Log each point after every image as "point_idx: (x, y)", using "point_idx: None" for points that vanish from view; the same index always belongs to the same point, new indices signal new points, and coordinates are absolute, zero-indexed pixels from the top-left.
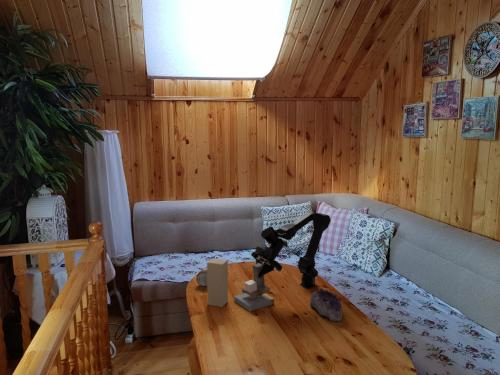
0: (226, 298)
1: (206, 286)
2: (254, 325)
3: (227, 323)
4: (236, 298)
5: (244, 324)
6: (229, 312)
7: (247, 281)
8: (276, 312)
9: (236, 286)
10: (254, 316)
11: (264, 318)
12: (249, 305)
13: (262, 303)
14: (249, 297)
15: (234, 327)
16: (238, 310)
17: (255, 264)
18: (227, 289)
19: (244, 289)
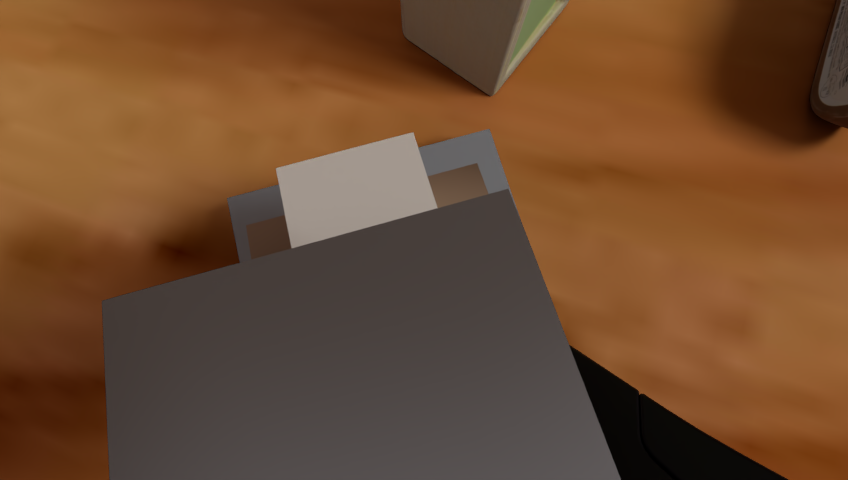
0: (474, 58)
1: (834, 8)
2: (13, 174)
3: (140, 8)
4: (451, 142)
5: (66, 110)
6: (297, 62)
7: (419, 179)
8: None
9: (800, 258)
10: (148, 222)
11: (76, 290)
12: (243, 202)
13: None
14: None
15: (62, 35)
16: (303, 134)
17: (528, 370)
18: (510, 16)
19: (440, 185)
